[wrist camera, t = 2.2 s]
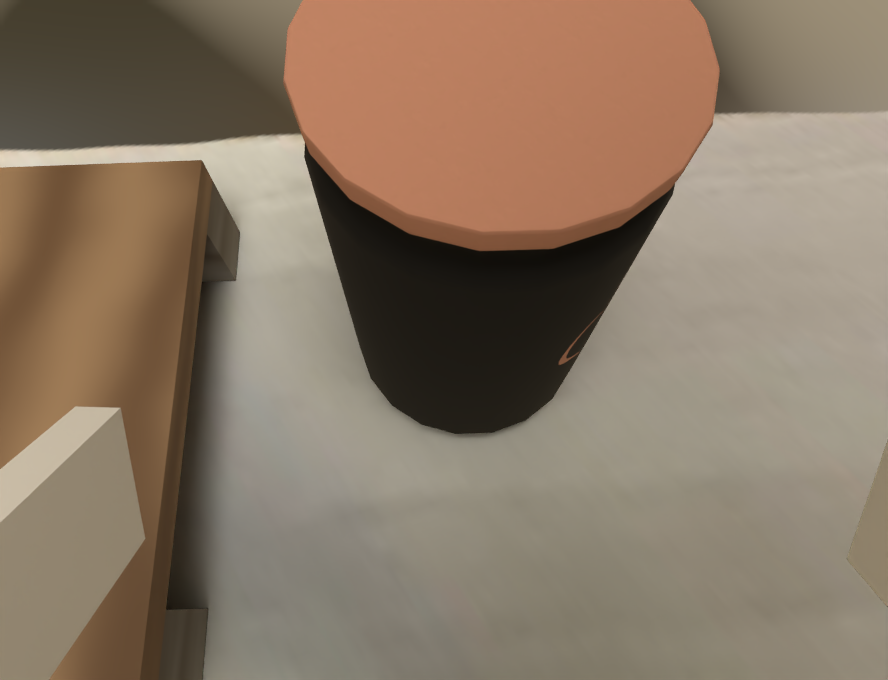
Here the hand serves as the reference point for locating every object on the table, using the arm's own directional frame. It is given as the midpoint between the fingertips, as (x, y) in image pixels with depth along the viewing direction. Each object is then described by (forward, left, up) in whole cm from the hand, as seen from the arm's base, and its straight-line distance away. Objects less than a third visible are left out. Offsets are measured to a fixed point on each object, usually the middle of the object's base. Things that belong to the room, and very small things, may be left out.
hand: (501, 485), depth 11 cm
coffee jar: (-1, -10, -18) cm, 21 cm away
